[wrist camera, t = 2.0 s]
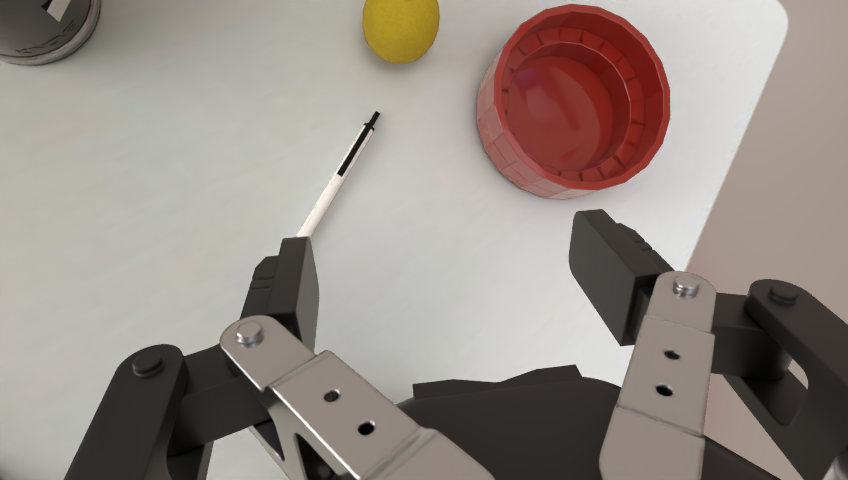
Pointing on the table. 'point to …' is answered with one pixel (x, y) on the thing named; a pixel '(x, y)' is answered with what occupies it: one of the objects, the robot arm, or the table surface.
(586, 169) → the bowl
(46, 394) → the table surface
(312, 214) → the pen
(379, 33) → the lemon
